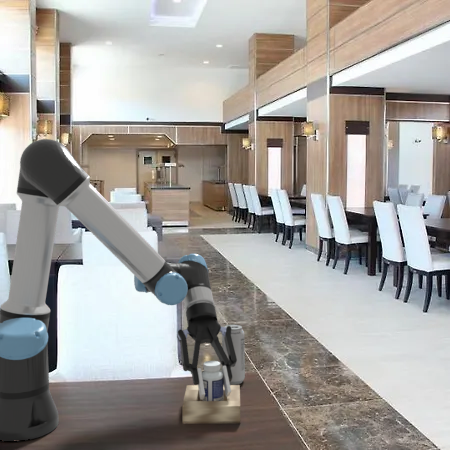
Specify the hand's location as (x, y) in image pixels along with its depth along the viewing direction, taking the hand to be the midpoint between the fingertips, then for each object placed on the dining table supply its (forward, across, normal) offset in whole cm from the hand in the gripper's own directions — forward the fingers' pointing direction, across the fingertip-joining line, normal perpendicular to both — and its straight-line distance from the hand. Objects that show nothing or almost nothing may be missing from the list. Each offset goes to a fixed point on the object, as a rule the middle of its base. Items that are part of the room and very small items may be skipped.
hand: (215, 395), depth 134 cm
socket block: (+1, 0, -6) cm, 7 cm away
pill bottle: (0, 0, -5) cm, 5 cm away
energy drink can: (-11, -10, -19) cm, 24 cm away
